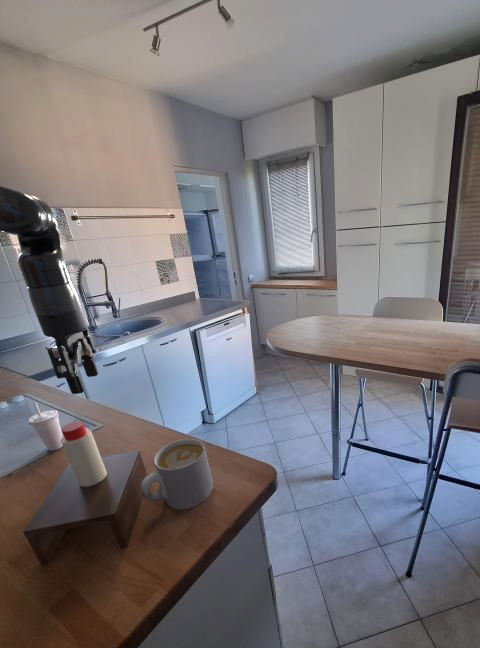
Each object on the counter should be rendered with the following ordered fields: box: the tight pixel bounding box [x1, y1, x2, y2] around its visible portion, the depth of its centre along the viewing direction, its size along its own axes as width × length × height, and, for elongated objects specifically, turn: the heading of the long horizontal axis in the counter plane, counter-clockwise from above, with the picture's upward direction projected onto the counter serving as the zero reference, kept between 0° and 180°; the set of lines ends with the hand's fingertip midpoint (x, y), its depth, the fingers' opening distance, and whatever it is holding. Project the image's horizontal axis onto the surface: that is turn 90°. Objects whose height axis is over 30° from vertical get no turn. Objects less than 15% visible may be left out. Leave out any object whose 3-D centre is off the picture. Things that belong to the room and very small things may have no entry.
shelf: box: [22, 450, 148, 566], centre depth 65 cm, size 14×18×8 cm
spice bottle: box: [61, 420, 107, 487], centre depth 63 cm, size 5×5×12 cm
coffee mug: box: [141, 438, 214, 510], centre depth 69 cm, size 13×10×10 cm
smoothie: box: [28, 401, 64, 452], centre depth 88 cm, size 6×6×14 cm
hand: (86, 384), depth 70 cm, fingers open, 8 cm apart
